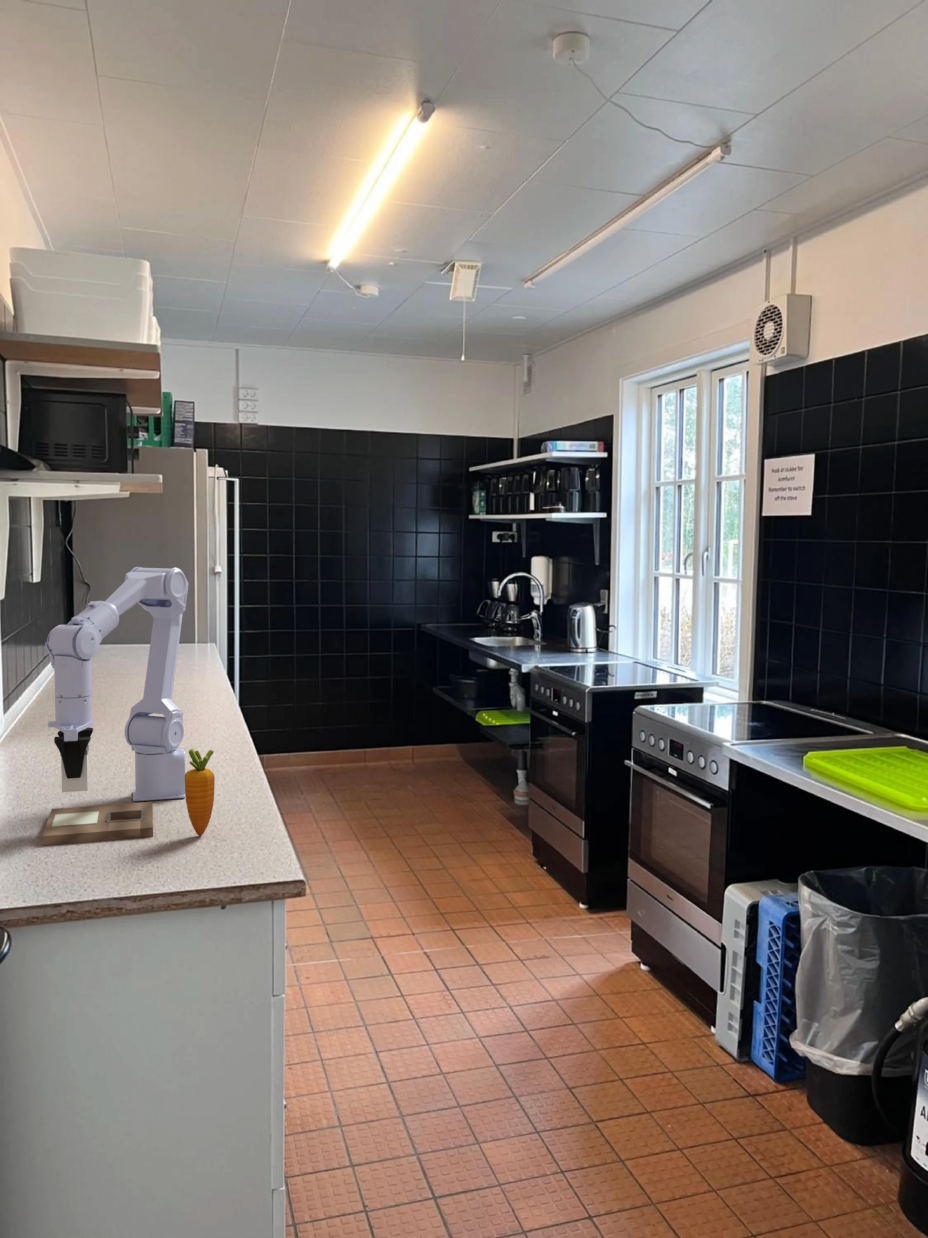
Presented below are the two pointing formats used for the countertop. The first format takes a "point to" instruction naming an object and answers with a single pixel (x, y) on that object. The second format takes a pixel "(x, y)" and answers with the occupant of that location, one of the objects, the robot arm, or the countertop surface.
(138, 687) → the countertop surface
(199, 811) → the carrot
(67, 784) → the plug
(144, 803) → the brown board with panel
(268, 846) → the countertop surface
